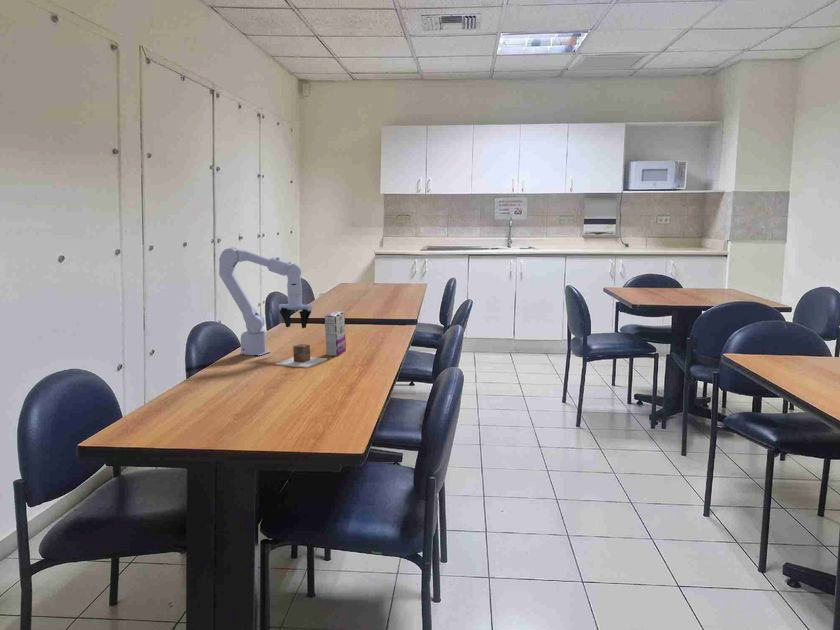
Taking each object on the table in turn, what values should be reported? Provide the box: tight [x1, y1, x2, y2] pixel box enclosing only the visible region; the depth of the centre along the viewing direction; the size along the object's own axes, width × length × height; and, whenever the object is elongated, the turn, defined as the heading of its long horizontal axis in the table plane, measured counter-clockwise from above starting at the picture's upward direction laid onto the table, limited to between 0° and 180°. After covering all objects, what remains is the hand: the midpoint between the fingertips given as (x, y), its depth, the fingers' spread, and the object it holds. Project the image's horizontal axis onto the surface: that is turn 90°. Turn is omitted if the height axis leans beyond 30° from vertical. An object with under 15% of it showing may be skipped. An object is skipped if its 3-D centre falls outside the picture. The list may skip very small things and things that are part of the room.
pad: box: [275, 356, 328, 369], centre depth 242 cm, size 14×14×1 cm
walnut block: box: [292, 343, 311, 363], centre depth 242 cm, size 4×4×6 cm
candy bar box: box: [324, 311, 347, 357], centre depth 257 cm, size 11×5×16 cm, turn 168°
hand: (296, 327), depth 259 cm, fingers open, 7 cm apart
